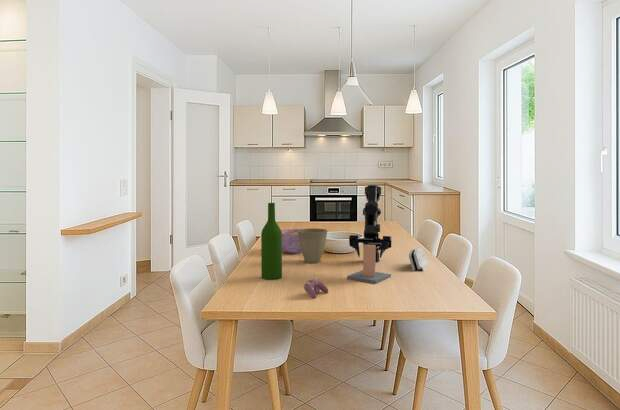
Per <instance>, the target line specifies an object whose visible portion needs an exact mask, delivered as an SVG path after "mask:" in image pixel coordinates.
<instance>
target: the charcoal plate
mask: <svg viewBox="0 0 620 410" xmlns="http://www.w3.org/2000/svg"><path fill="white" fill-rule="evenodd" d="M391 276H392V274H391V273H386V272H378V271H375V277H369V276H363V269H362V270H358V271H357V272H353V273H351V274H349V275H347V277H346V279H347V280H352V281H358V282H363V283H371V284H379V283H381V282H383V281H386V280H387V279H389V278H391Z"/></svg>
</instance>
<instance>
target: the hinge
mask: <svg viewBox="0 0 620 410" xmlns="http://www.w3.org/2000/svg"><path fill="white" fill-rule="evenodd" d="M408 259H409V263H410V265H411V269H412V271H416V270H422V271H421V272H425V270H426V269H427V268H428V267H429V266H430V265H429V264H430V261H429V260H427V259H426V256H425V253H424V251H423V248H421V247H420V248H419V247H418V248H414V249H412V250H410V252H409V253H408ZM428 265H429V266H428Z"/></svg>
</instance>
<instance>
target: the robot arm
mask: <svg viewBox="0 0 620 410" xmlns="http://www.w3.org/2000/svg"><path fill="white" fill-rule="evenodd" d="M364 196H365V198H366V201H367V202H366V203H365V204H364V207H363V209H362V216H364V230H363V237H362V238H361V237H359V235H358V234H350V235H349V236H348V243H349V244H348V245H349V247H351V248H352V249H354V250H355V252H356V254H357V257H358V258H360V257H361V256H360V254H361V253H360V244H362V246H364V244H366V245H376V253H375V263H378V262H380V261H381V260H380V259H382V256H383V255H384V253H385V251H386V250H388V249H390V248H392V241H393V240H392V239H393V238H392V236H390V235H382V238H380V234H379V233H381V224H380V223H379V224H378V218H379V216H380V215H381V214H382V213H381V212H382V211H381V209H380V208H379V203H378V202H379V201H380V199H381V198H380V197H381V196H382V187H381V186H379V185H376V184H368V185H367V186H364ZM379 251H380V252H379Z"/></svg>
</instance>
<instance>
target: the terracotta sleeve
mask: <svg viewBox="0 0 620 410" xmlns="http://www.w3.org/2000/svg"><path fill="white" fill-rule="evenodd" d="M362 246H363V245H362ZM362 249H363V250H362V251H363V255H362V266H363V267H362V270H363V276H369V277H375V272H376V262H375V253H376V245H366V244H364V246H363V247H362Z"/></svg>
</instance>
